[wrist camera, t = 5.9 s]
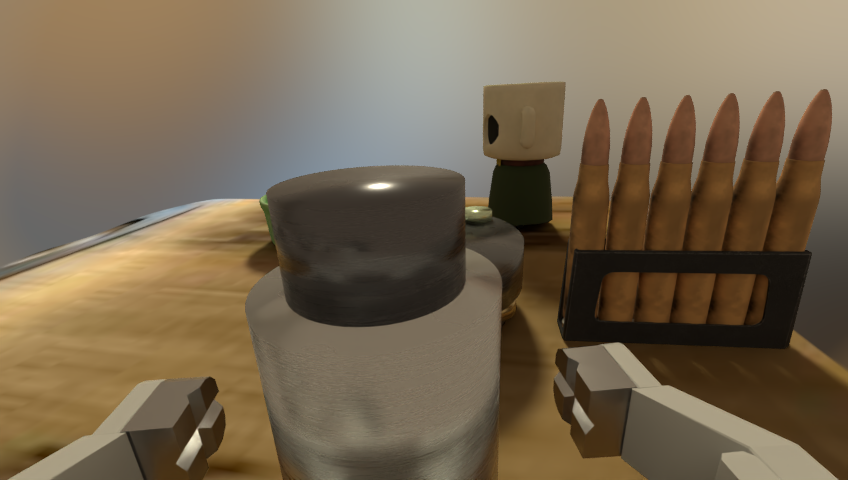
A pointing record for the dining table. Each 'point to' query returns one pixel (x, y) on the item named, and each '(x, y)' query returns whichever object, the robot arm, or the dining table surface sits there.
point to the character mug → (522, 148)
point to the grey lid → (497, 251)
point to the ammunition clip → (694, 231)
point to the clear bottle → (378, 329)
